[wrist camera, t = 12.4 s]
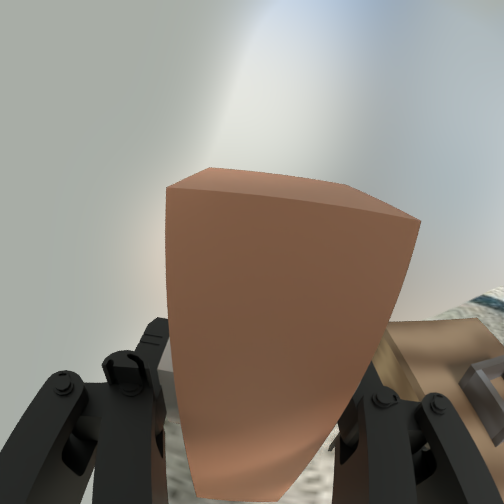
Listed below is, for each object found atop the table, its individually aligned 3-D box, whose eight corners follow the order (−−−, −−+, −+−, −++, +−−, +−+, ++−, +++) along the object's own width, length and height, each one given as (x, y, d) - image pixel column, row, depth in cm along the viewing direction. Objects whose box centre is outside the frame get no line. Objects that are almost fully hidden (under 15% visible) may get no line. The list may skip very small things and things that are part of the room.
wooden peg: (204, 438, 12) (209, 167, 7) (274, 443, 13) (346, 184, 8) (196, 497, 9) (166, 187, 4) (277, 501, 9) (421, 220, 4)
